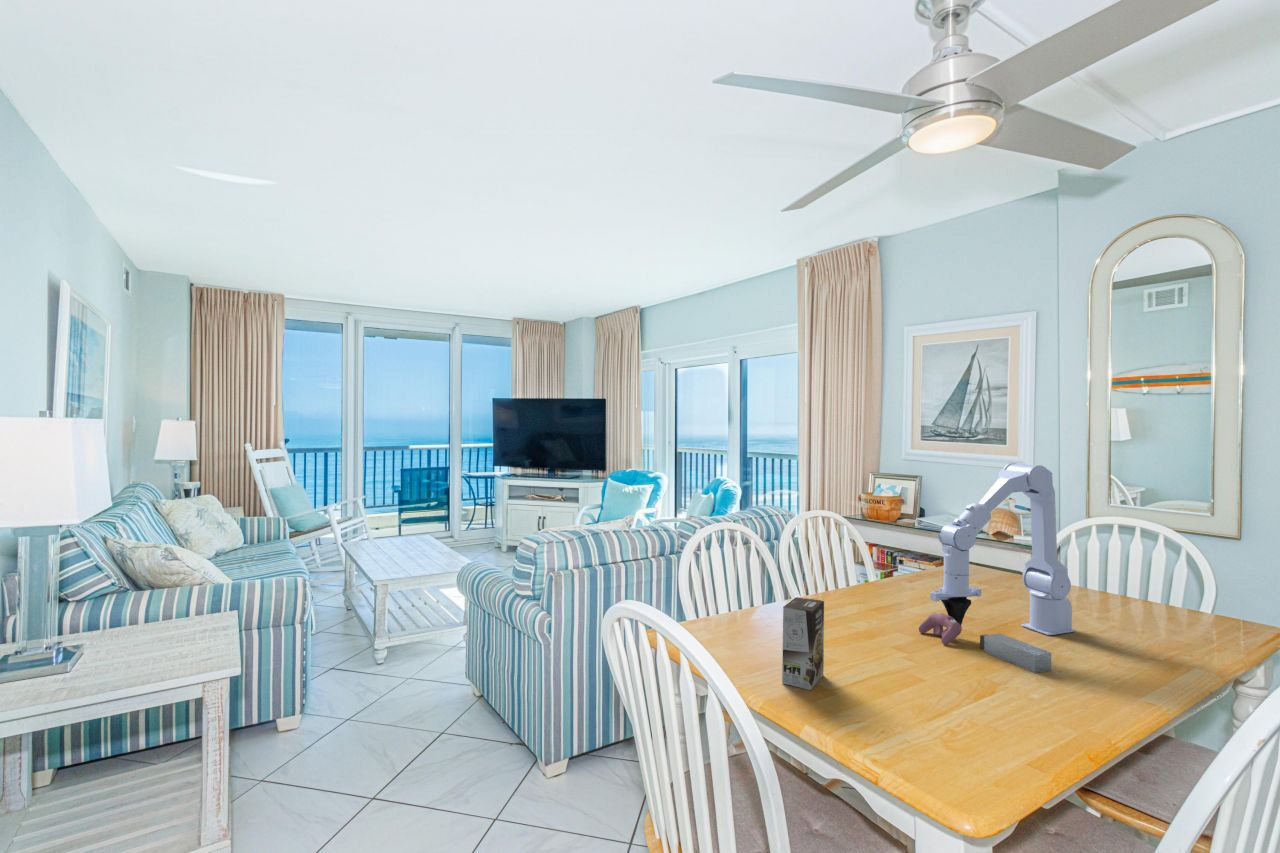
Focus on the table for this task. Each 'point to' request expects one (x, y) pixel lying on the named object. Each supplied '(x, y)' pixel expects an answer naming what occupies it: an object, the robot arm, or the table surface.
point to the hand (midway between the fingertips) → (955, 626)
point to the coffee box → (803, 642)
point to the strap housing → (1017, 652)
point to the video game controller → (937, 624)
